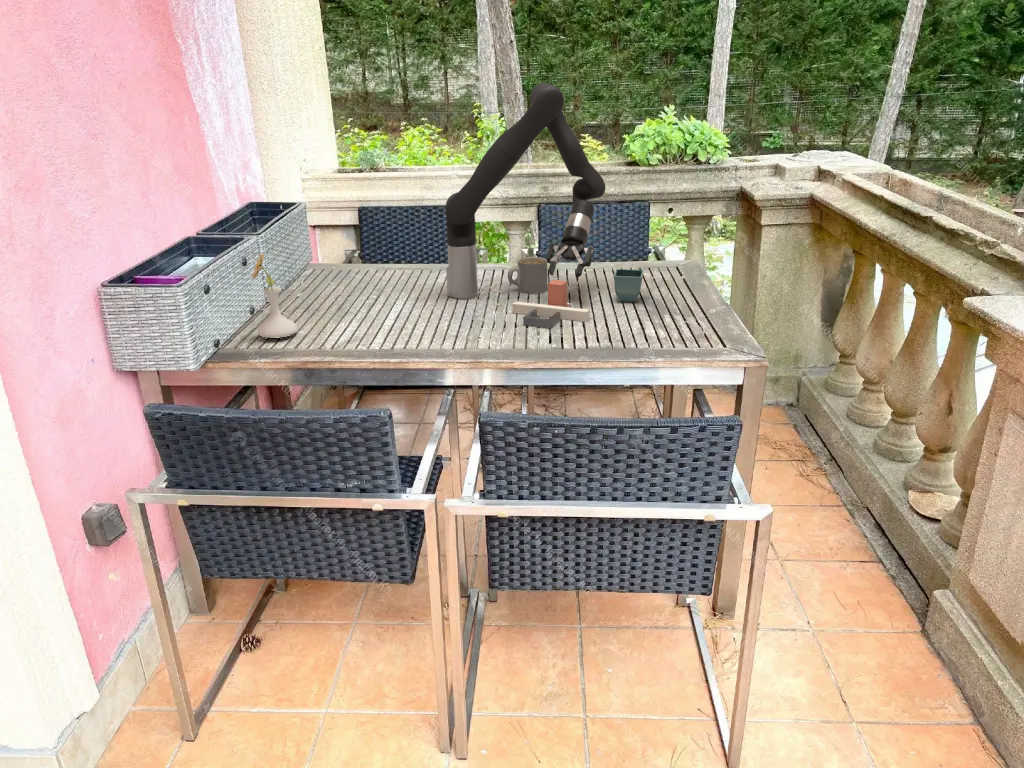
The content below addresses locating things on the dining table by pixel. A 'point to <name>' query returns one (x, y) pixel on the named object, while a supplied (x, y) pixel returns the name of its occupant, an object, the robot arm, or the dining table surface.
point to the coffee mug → (530, 275)
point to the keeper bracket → (540, 320)
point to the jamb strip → (552, 311)
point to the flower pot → (627, 284)
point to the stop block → (557, 293)
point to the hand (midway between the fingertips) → (563, 275)
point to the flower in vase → (273, 309)
